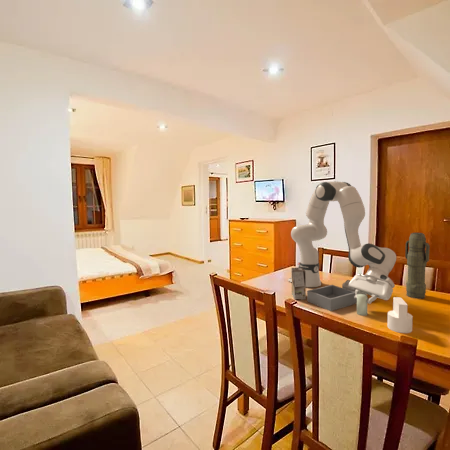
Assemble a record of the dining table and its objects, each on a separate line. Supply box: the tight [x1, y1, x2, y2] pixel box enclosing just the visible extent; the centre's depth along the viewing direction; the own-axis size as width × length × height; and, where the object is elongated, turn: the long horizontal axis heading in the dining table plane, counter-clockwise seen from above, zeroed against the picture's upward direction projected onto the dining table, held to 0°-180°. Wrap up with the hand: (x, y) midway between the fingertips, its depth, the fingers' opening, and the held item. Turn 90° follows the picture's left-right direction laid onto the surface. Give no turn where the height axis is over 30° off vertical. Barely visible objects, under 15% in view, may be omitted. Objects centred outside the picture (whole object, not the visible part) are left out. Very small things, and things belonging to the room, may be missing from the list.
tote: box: [306, 284, 357, 312], centre depth 154 cm, size 16×19×6 cm
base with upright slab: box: [386, 296, 414, 334], centre depth 122 cm, size 9×9×12 cm
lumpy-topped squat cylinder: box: [341, 279, 368, 301], centre depth 161 cm, size 10×13×9 cm
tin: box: [356, 294, 369, 317], centre depth 138 cm, size 5×5×9 cm
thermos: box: [404, 232, 431, 300], centre depth 157 cm, size 9×12×35 cm
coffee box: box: [290, 266, 307, 300], centre depth 163 cm, size 9×6×16 cm
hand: (361, 300), depth 138 cm, fingers open, 5 cm apart
